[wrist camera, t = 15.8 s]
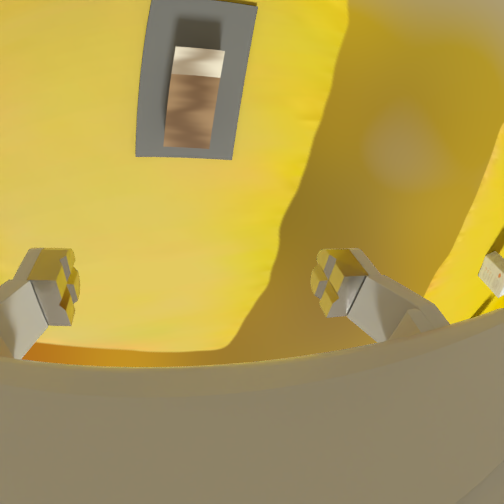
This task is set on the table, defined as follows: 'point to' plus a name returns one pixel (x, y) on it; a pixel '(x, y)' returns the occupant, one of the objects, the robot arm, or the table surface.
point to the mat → (161, 61)
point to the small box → (493, 273)
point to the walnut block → (192, 97)
